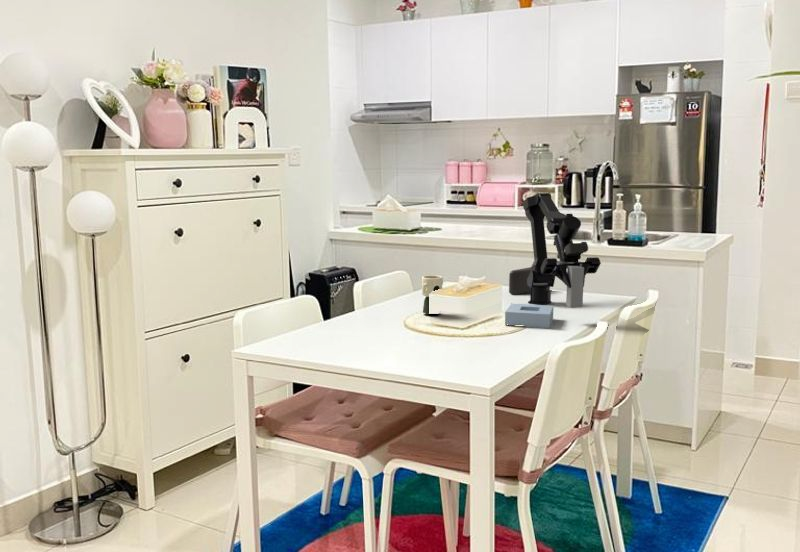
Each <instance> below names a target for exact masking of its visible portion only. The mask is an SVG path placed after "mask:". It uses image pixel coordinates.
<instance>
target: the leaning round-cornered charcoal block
mask: <svg viewBox="0 0 800 552" xmlns="http://www.w3.org/2000/svg"><path fill="white" fill-rule="evenodd" d="M530 272H531V266H530V267H525V268H518V269H513V270H510V272H509V277H508V278H509V279H508V293H509V294H510V295H513V296H518V295H528V294H530V291H531V287H529V286H528V285H527V278H528V276H529V274H530Z"/></svg>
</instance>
